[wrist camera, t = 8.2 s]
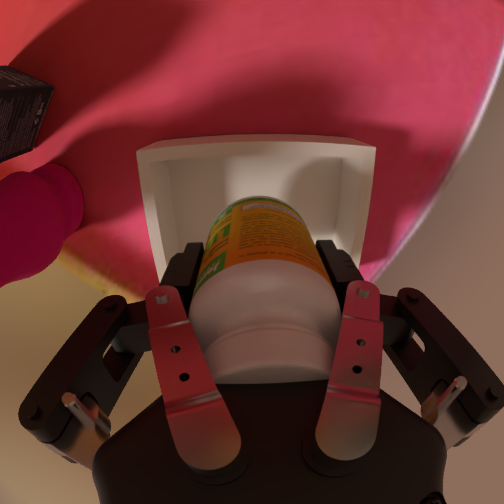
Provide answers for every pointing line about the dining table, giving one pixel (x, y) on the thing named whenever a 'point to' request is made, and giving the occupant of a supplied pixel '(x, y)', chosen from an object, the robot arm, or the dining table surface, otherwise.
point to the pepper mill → (36, 219)
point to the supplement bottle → (264, 297)
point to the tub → (255, 185)
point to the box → (20, 111)
